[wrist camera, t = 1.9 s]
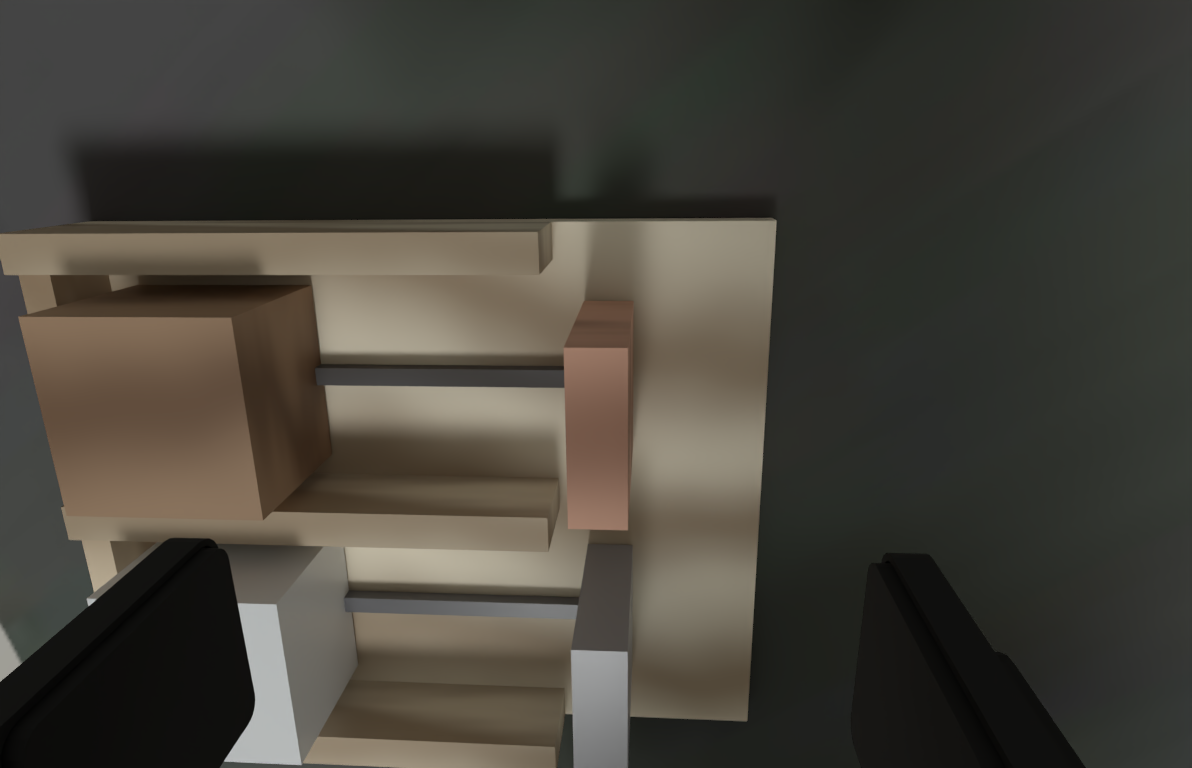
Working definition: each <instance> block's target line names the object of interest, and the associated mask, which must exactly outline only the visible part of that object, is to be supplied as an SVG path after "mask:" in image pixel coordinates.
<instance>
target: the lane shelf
mask: <svg viewBox="0 0 1192 768" xmlns="http://www.w3.org/2000/svg"><path fill="white" fill-rule="evenodd" d="M776 223H777V221H776V220H775V219H773V218H630V219H433V220H236V221H89V222H81V223H74V224H66V225H59V226H51V227H44V228H36V229H29V230H21V231H14V232H6V233H0V259H1V263H2V267H3V271H4V275H19V279H20V283H21V287H22V292H23V296H24V300H25V304H26V308H27V313H28V314H31V313H34V312H38V311H42V310H46V309H49V308H53V307H57V306H60V305H64V304H68V303H72V302H75V301H79V300H83V299H86V298H90V297H94V296H98V295H101V294H105V293H109V292H113V291H116V290H120V289H124V288H127V287H131V286H135V285H311V287H312V295H313V303H314V311H315V319H316V327H317V335H318V344H319V352H320V360H321V364H374V365H492V366H564V345H565V343H566V341H567V339H568V336H569V334H570V332H571V329H572V327H573V325H574V323H575V320H576V318H577V316H578V313H579V311H580V309H581V307H582V304H583V302H584V301H634V336H633V455H632V472H631V488H630V504H629V521H628V530H589V529H568V510H567V469H566V428H565V388H525V387H430V386H335V385H324V392H325V400H326V408H327V416H328V424H329V432H330V441H331V449H332V455H331V456H330V457H329V458H328V459H327V460H326V461H324V462H323V463H322V464H321V465H320V466H319V467H318V468H317V469H316V470H315V471H314V472H313V473H312V474H311V475H310V476H309V477H308V478H307V479H306V480H305V481H304V482H303V483H302V484H301V485H300V486H299V487H297V488H296V489H295V490H294V491H293V492H292V493H291V494H290V495H289V496H288V497H287V498H286V499H285V500H284V501H283V502H282V503H281V504H280V505H279V506H278V507H277V508H276V509H275V510H274V511H273V512H272V513H270V514H269V515H268V516H267V517H266V518H265V519H264V520H263V521H257V520H214V519H171V518H129V517H86V516H67V515H66V511H65V507H64V506H62V507H61V509H62V513H63V517H64V521H65V525H66V529H67V533H68V537H69V540H82V543H83V547H84V552H85V556H86V560H87V564H88V568H89V573H90V577H91V581H92V585H93V589H94V592H95V591H97V590H98V589H99V588H100V587H102V586H103V585H104V584H105V583H107V582H108V581H109V580H110V579H112V578H113V577H114V576H115V575H117V574H118V573H119V572H120V571H122V570H123V569H124V568H125V567H127V566H128V565H129V564H130V563H132V562H133V561H134V560H135V559H137V558H138V557H139V556H140V555H142V554H143V553H144V552H145V551H147V550H148V549H149V548H150V547H152V546H153V545H154V544H155V543H157V542H164V541H166V540H168V539H169V538H210V539H212V540H214V541H215V543H216V544H251V545H290V546H329V547H344V554H345V562H346V570H347V578H348V586H349V590H354V591H387V592H421V593H454V594H488V595H521V596H555V597H579V596H580V590H581V584H582V578H583V571H584V565H585V559H586V553H587V546H588V544H612V545H633V605H632V685H631V712H630V717H653V718H677V719H702V720H727V721H747V717H748V700H749V683H750V666H751V649H752V632H753V615H754V598H755V581H756V564H757V547H758V530H759V513H760V496H761V479H762V462H763V445H764V428H765V411H766V394H767V377H768V360H769V343H770V326H771V309H772V292H773V275H774V258H775V240H776ZM352 618H353V627H354V635H355V643H356V651H357V659H358V666H357V668H356V670H355V671H354V673H353V675H352V677H351V678H350V680H349V682H348V684H347V686H346V687H345V689H344V691H343V693H342V694H341V696H340V698H339V700H338V701H337V703H336V705H335V707H334V709H333V710H332V712H331V714H330V716H329V717H328V719H327V721H326V723H325V724H324V726H323V728H322V730H321V732H320V733H319V735H318V737H317V739H316V740H315V742H314V744H313V746H312V747H311V749H310V751H309V753H308V754H307V756H306V758H305V760H304V762H303V763H313V764H335V765H356V766H378V767H400V768H557V765H558V758H559V752H560V745H561V739H562V732H563V725H564V719H565V714H573V713H572V672H571V647H572V640H573V634H574V628H575V622H576V619H549V618H517V617H486V616H455V615H423V614H392V613H360V612H352Z"/></svg>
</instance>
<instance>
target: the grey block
mask: <svg viewBox="0 0 1192 768" xmlns="http://www.w3.org/2000/svg"><path fill="white" fill-rule="evenodd" d="M162 543H163V542H157V543H155V544H154V545H153V546H152V547H150V548H149V549H148V550H147V551H145V552H144V553H143V554H142V555H140V556H139V557H138V558H137V559H135V560H134V561H133V562H132V563H130V564H129V565H128V566H127V567H125V568H124V569H123V570H122V571H120V572H119V573H118V574H117V575H115V576H114V577H113V578H112V579H110V580H109V581H108V582H107V583H105V584H104V585H103V586H102V587H100V588H99V589H98V590H97V591H95V592H94V593H93V594H92V595H90V596H89V597H88V598H87V602H88V606H90V605H91V604H92V603H93V602H94V601H95V600H97V599H98V598H99V597H100V596H101V595H102V594H104V593H105V592H106V591H107V590H108V589H109V588H111V587H112V586H113V585H114V584H115V583H116V582H118V581H119V580H120V579H121V578H122V577H123V576H125V575H126V574H127V573H128V572H129V571H130V570H132V569H133V568H134V567H135V566H136V565H137V564H139V563H140V562H141V561H142V560H143V559H144V558H146V557H147V556H148V555H149V554H150V553H151V552H153V551H154V550H155V549H156V548H157V547H158V546H160V545H161V544H162ZM217 545H218V548H222V549H224V550H225V551H226V552H227V554H228V557H229V561H230V566H231V572H232V577H233V582H234V587H235V593H236V598H237V603H238V608H239V614H240V619H241V624H242V629H243V635H244V640H245V645H246V650H247V656H248V661H249V666H250V671H251V677H252V682H253V687H254V692H255V708H254V712H253V715H252V718H251V720H250V722H249V724H248V726H247V727H246V729H245V730H244V732H243V733H242V735H241V736H240V738H239V739H238V741H237V742H236V744H235V745H234V747H233V748H232V750H231V751H230V753H229V754H228V756H227V757H226V759H225V760H224V761H226V762H247V763H269V764H290V765H302V763H303V762H304V760H305V758H306V756H307V754H308V753H309V751H310V749H311V747H312V746H313V744H314V742H315V740H316V739H317V737H318V735H319V733H320V732H321V730H322V728H323V726H324V724H325V723H326V721H327V719H328V717H329V716H330V714H331V712H332V710H333V709H334V707H335V705H336V703H337V701H338V700H339V698H340V696H341V694H342V693H343V691H344V689H345V687H346V686H347V684H348V682H349V680H350V678H351V677H352V675H353V673H354V671H355V670H356V668H357V666H358V659H357V651H356V643H355V635H354V627H353V618H352V612H360V613H392V614H423V615H455V616H486V617H517V618H549V619H576V622H575V628H574V634H573V640H572V647H571V672H572V713H573V753H574V768H628V766H629V739H630V712H631V685H632V605H633V545H612V544H588V546H587V553H586V559H585V565H584V571H583V578H582V584H581V590H580V596H579V597H555V596H521V595H488V594H454V593H421V592H387V591H354V590H349V586H348V578H347V570H346V562H345V554H344V547H329V546H290V545H251V544H217Z"/></svg>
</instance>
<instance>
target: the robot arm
mask: <svg viewBox="0 0 1192 768" xmlns="http://www.w3.org/2000/svg"><path fill="white" fill-rule="evenodd" d="M254 708H255V692H254V687H253V682H252V677H251V671H250V666H249V661H248V656H247V650H246V645H245V640H244V635H243V629H242V624H241V619H240V614H239V608H238V603H237V598H236V593H235V587H234V582H233V577H232V572H231V566H230V561H229V557H228V554H227V552H226V551H225V550H224V549H222V548H218V545H217V544H216V543H215V541H214V540H212V539H210V538H169V539H168V540H166V541H164V542H163V543H162V544H161V545H160V546H158V547H157V548H156V549H155V550H154V551H153V552H151V553H150V554H149V555H148V556H147V557H146V558H144V559H143V560H142V561H141V562H140V563H139V564H137V565H136V566H135V567H134V568H133V569H132V570H130V571H129V572H128V573H127V574H126V575H125V576H123V577H122V578H121V579H120V580H119V581H118V582H116V583H115V584H114V585H113V586H112V587H111V588H109V589H108V590H107V591H106V592H105V593H104V594H102V595H101V596H100V597H99V598H98V599H97V600H95V601H94V602H93V603H92V604H91V605H90V606H88V607H87V608H86V609H85V610H84V611H83V612H81V613H80V614H79V615H78V616H77V617H76V618H74V619H73V620H72V621H71V622H70V623H69V624H67V625H66V626H65V627H64V628H63V629H62V630H60V631H59V632H58V633H57V634H56V635H55V636H53V637H52V638H51V639H50V640H49V641H48V642H46V643H45V644H44V645H43V646H42V647H41V648H39V649H38V650H37V651H36V652H35V653H34V654H32V655H31V656H30V657H29V658H28V659H27V660H25V661H24V662H23V663H22V664H21V665H20V666H18V667H17V668H16V669H15V670H14V671H13V672H11V673H10V674H9V675H8V676H7V677H6V678H4V679H3V680H2V681H1V682H0V768H220V766H221V765H222V763H223V762H224V760H225V759H226V757H227V756H228V754H229V753H230V751H231V750H232V748H233V747H234V745H235V744H236V742H237V741H238V739H239V738H240V736H241V735H242V733H243V732H244V730H245V729H246V727H247V726H248V724H249V722H250V720H251V718H252V715H253V712H254ZM851 732H852V739H853V744H854V747H855V750H856V753H857V756H858V759H859V762H860V765H861V768H1085V766H1084V765H1083V763H1082V762H1081V760H1080V759H1079V757H1078V756H1077V755H1076V753H1075V752H1074V750H1073V749H1072V747H1071V746H1070V744H1069V743H1068V741H1067V740H1066V739H1065V737H1064V736H1063V734H1062V733H1061V731H1060V730H1059V728H1058V727H1057V725H1056V724H1055V723H1054V721H1053V720H1052V718H1051V717H1050V715H1049V714H1048V712H1047V711H1046V709H1045V708H1044V707H1043V705H1042V704H1041V702H1040V701H1039V699H1038V698H1037V696H1036V695H1035V693H1034V692H1033V691H1032V689H1031V688H1030V686H1029V685H1028V683H1027V682H1026V680H1025V679H1024V677H1023V676H1022V675H1021V673H1020V672H1019V670H1018V669H1017V667H1016V666H1015V664H1014V663H1013V662H1012V661H1011V660H1010V659H1009V657H1008V656H1007V655H1005V654H1003V653H1000V652H994V650H993V649H992V647H991V646H990V644H989V643H988V641H987V640H986V638H985V637H984V635H983V634H982V632H981V631H980V629H979V628H978V626H977V625H976V623H975V622H974V620H973V619H972V617H971V616H970V614H969V613H968V611H967V610H966V608H965V607H964V605H963V604H962V602H961V601H960V599H959V598H958V596H957V595H956V593H955V592H954V590H953V589H952V587H951V586H950V584H949V583H948V581H947V580H946V578H945V577H944V575H943V574H942V572H941V571H940V569H939V568H938V566H937V565H936V563H935V562H934V560H933V559H932V558H931V556H930V555H928V554H907V553H886V554H885V555H884V556H883V558H882V561H881V563H872V564H870V566H869V569H868V575H867V584H866V592H865V601H864V609H863V618H862V626H861V635H860V644H859V652H858V661H857V669H856V678H855V686H854V695H853V703H852V712H851Z"/></svg>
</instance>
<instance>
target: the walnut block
mask: <svg viewBox="0 0 1192 768" xmlns="http://www.w3.org/2000/svg"><path fill="white" fill-rule="evenodd" d="M19 322H20V326H21V330H22V334H23V338H24V342H25V346H26V350H27V355H28V359H29V363H30V367H31V371H32V375H33V379H34V383H35V387H36V392H37V396H38V400H39V404H40V408H41V412H42V416H43V420H44V425H45V429H46V433H47V437H48V441H49V445H50V449H51V453H52V458H53V462H54V466H55V470H56V474H57V478H58V482H59V486H60V491H61V495H62V499H63V503H64V507H65V511H66V515H67V516H86V517H129V518H171V519H214V520H257V521H263V520H264V519H265V518H266V517H267V516H268V515H269V514H270V513H272V512H273V511H274V510H275V509H276V508H277V507H278V506H279V505H280V504H281V503H282V502H283V501H284V500H285V499H286V498H287V497H288V496H289V495H290V494H291V493H292V492H293V491H294V490H295V489H296V488H297V487H299V486H300V485H301V484H302V483H303V482H304V481H305V480H306V479H307V478H308V477H309V476H310V475H311V474H312V473H313V472H314V471H315V470H316V469H317V468H318V467H319V466H320V465H321V464H322V463H323V462H324V461H326V460H327V459H328V458H329V457H330V456H331V455H332V449H331V441H330V432H329V424H328V416H327V408H326V400H325V392H324V385H335V386H430V387H525V388H565V428H566V469H567V510H568V529H589V530H628V521H629V504H630V488H631V472H632V455H633V336H634V301H584V302H583V304H582V307H581V309H580V311H579V313H578V316H577V318H576V320H575V323H574V325H573V327H572V329H571V332H570V334H569V336H568V339H567V341H566V343H565V345H564V366H492V365H374V364H321V360H320V352H319V344H318V335H317V327H316V319H315V311H314V303H313V295H312V287H311V285H135V286H131V287H127V288H124V289H120V290H116V291H113V292H109V293H105V294H101V295H98V296H94V297H90V298H86V299H83V300H79V301H75V302H72V303H68V304H64V305H60V306H57V307H53V308H49V309H46V310H42V311H38V312H34V313H31V314H27V315H23V316H19Z"/></svg>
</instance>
